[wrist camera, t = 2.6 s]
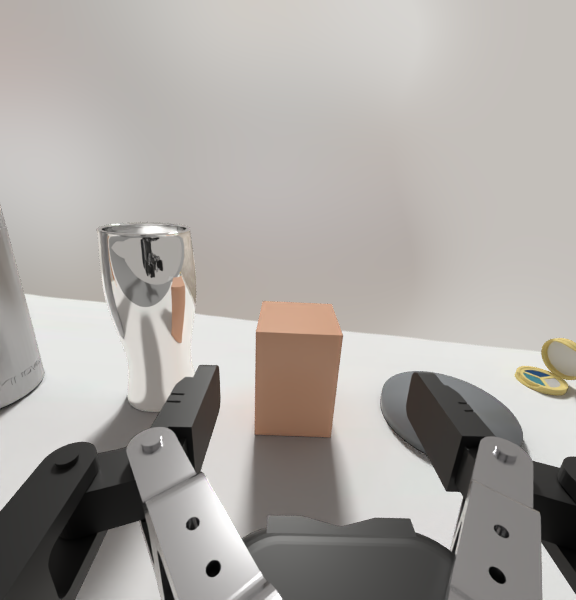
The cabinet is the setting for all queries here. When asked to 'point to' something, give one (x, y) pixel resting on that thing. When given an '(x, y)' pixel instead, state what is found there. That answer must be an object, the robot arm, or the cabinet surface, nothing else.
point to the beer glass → (150, 304)
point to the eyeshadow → (551, 368)
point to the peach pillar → (296, 369)
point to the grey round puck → (478, 399)
